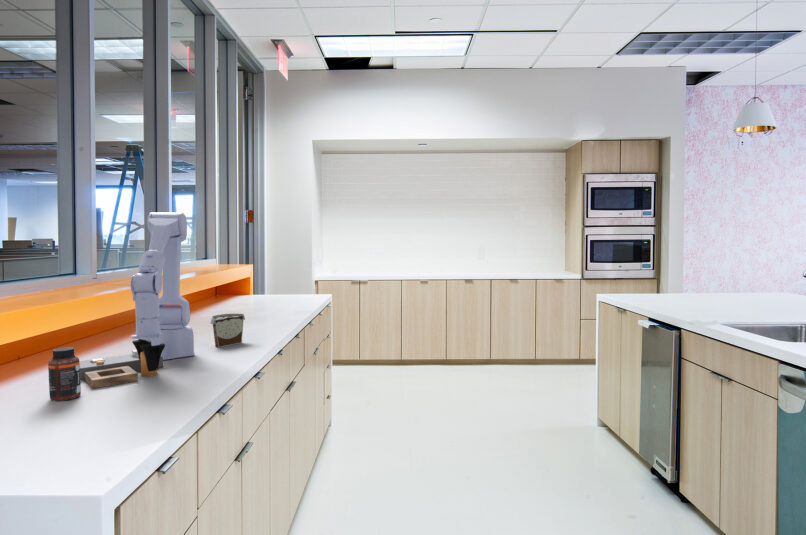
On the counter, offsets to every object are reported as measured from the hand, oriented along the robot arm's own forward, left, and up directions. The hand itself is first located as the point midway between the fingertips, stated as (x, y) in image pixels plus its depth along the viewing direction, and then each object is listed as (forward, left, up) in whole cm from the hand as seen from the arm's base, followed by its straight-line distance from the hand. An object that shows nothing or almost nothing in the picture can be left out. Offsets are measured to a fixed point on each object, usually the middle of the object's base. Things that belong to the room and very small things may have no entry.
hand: (149, 368), depth 134 cm
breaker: (0, -11, 0) cm, 11 cm away
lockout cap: (0, 0, -2) cm, 2 cm away
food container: (-30, -24, -2) cm, 39 cm away
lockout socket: (+9, 0, -2) cm, 9 cm away
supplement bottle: (+20, +9, -2) cm, 22 cm away
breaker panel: (+5, -10, -2) cm, 11 cm away
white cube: (+10, -11, -1) cm, 15 cm away
